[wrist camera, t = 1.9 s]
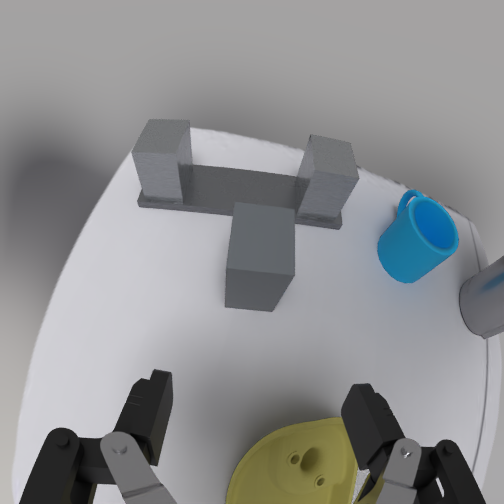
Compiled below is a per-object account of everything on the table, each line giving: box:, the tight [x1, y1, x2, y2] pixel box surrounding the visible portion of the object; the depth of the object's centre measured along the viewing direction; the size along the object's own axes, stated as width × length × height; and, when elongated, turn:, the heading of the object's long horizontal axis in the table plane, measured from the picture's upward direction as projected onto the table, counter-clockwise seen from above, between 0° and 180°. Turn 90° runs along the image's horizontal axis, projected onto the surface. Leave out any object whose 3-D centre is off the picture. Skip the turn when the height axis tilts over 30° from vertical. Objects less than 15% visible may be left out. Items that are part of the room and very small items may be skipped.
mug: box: [377, 190, 459, 283], centre depth 32 cm, size 12×8×8 cm
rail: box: [131, 119, 359, 230], centre depth 32 cm, size 26×7×9 cm, turn 86°
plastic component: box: [226, 417, 358, 504], centre depth 18 cm, size 20×7×10 cm
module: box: [225, 202, 295, 312], centre depth 26 cm, size 5×6×10 cm
